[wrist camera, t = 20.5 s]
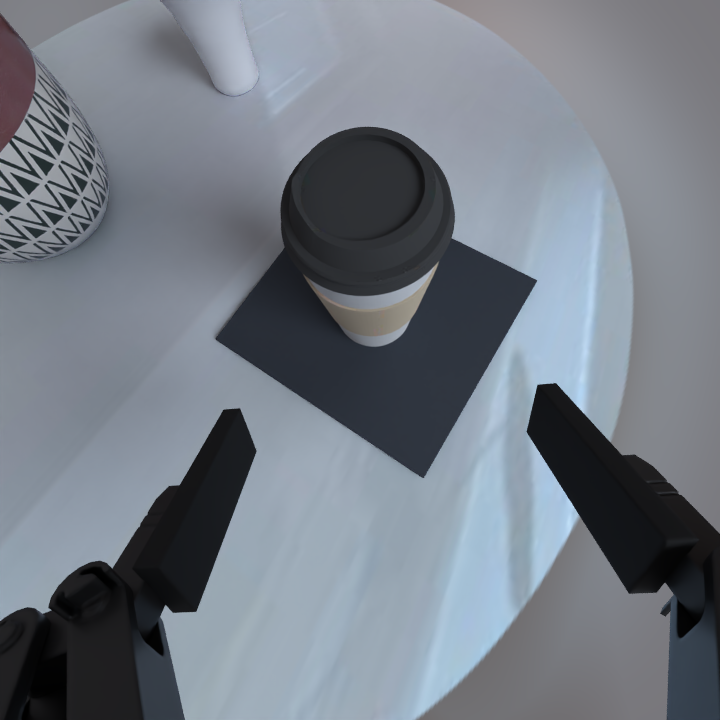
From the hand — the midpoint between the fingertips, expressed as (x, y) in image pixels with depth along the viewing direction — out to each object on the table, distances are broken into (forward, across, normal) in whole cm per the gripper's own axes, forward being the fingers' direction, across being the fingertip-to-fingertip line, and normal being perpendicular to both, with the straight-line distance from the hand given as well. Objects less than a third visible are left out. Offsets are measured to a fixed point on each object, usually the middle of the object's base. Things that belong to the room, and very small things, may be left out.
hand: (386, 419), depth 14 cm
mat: (+16, 0, -2) cm, 16 cm away
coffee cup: (+16, 0, -1) cm, 16 cm away
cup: (+39, -14, +21) cm, 46 cm away
